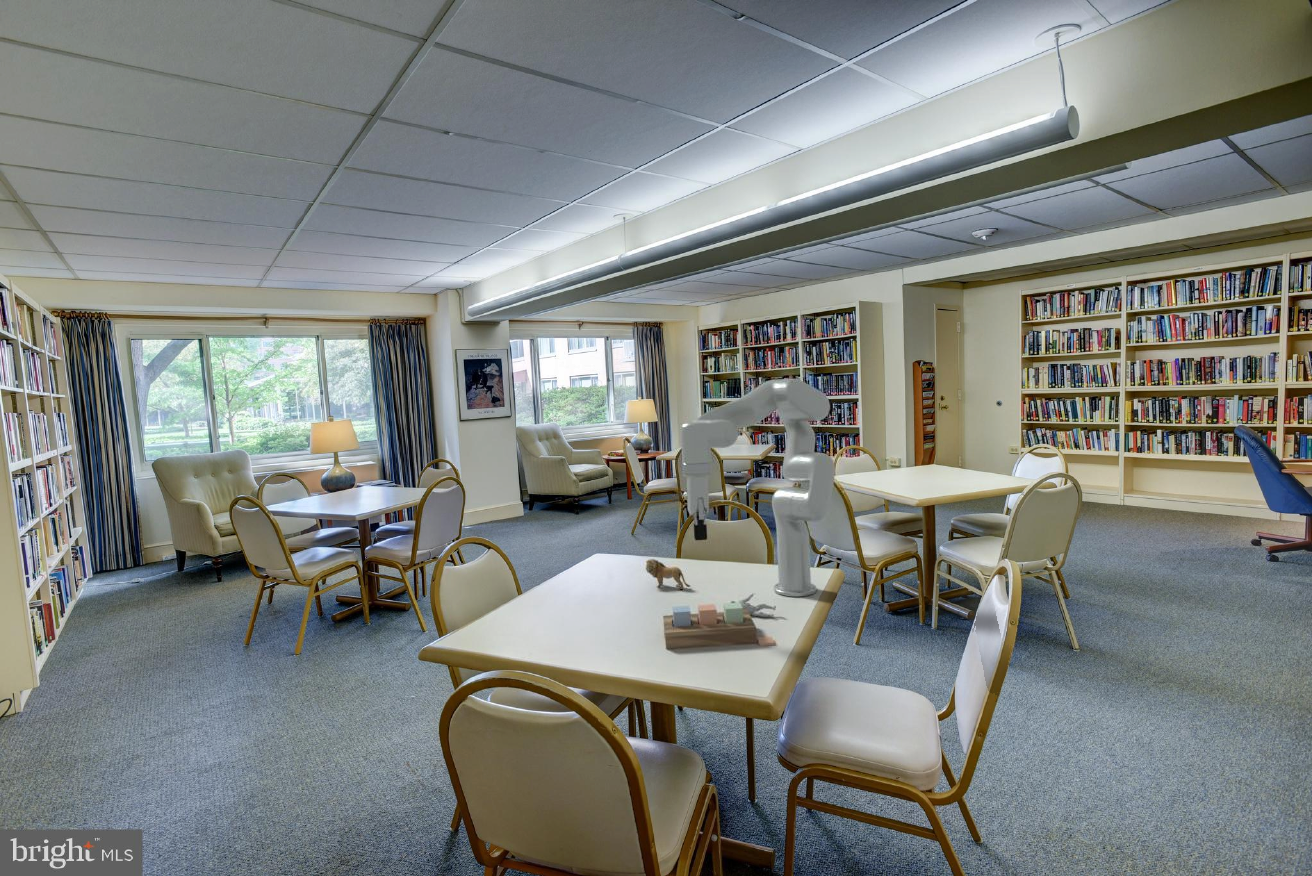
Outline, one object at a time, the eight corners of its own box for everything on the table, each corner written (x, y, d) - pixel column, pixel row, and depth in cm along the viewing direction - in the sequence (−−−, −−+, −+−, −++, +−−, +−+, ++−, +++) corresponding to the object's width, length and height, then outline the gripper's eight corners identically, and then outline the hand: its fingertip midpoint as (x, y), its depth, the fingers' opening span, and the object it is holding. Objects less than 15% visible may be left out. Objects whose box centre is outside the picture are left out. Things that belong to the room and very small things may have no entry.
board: (664, 630, 163) (663, 615, 162) (747, 625, 163) (747, 610, 163) (666, 648, 151) (665, 632, 150) (756, 643, 151) (755, 626, 151)
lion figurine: (644, 588, 200) (642, 561, 200) (650, 583, 205) (648, 556, 205) (688, 590, 196) (686, 562, 195) (692, 585, 201) (691, 558, 200)
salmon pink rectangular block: (699, 626, 159) (698, 605, 159) (715, 625, 159) (714, 604, 159) (700, 632, 155) (699, 610, 154) (717, 631, 155) (716, 609, 154)
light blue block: (673, 628, 159) (672, 606, 158) (690, 627, 159) (689, 605, 158) (674, 634, 154) (673, 612, 154) (691, 633, 155) (690, 611, 154)
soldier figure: (770, 626, 165) (726, 610, 168) (768, 633, 168) (725, 617, 171) (778, 600, 169) (735, 585, 172) (775, 607, 173) (734, 592, 176)
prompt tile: (756, 640, 153) (756, 637, 153) (771, 639, 153) (771, 636, 153) (759, 645, 149) (759, 643, 149) (774, 644, 150) (774, 642, 150)
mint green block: (724, 624, 159) (723, 603, 159) (740, 623, 159) (739, 602, 159) (726, 630, 155) (725, 609, 154) (743, 629, 155) (742, 608, 155)
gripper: (680, 467, 170) (684, 534, 171) (685, 473, 155) (688, 546, 156) (708, 465, 170) (711, 532, 171) (715, 472, 155) (718, 545, 156)
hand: (700, 539), depth 164 cm, fingers closed
